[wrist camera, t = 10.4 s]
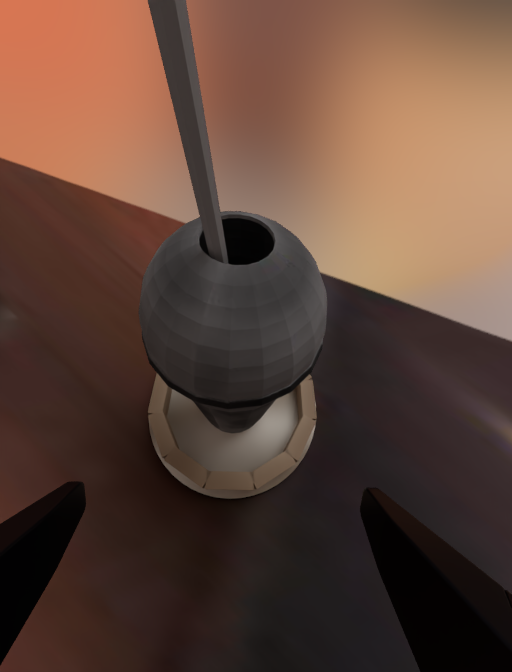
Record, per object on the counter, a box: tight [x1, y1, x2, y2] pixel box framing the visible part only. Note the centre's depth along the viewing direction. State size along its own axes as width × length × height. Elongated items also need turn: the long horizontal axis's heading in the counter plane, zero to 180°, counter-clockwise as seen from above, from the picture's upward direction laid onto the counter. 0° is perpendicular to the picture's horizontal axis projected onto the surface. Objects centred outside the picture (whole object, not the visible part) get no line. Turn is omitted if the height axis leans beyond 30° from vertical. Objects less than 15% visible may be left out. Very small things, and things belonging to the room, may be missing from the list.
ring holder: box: [148, 373, 317, 499], centre depth 20 cm, size 13×13×2 cm
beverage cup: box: [139, 0, 327, 433], centre depth 12 cm, size 7×7×20 cm
